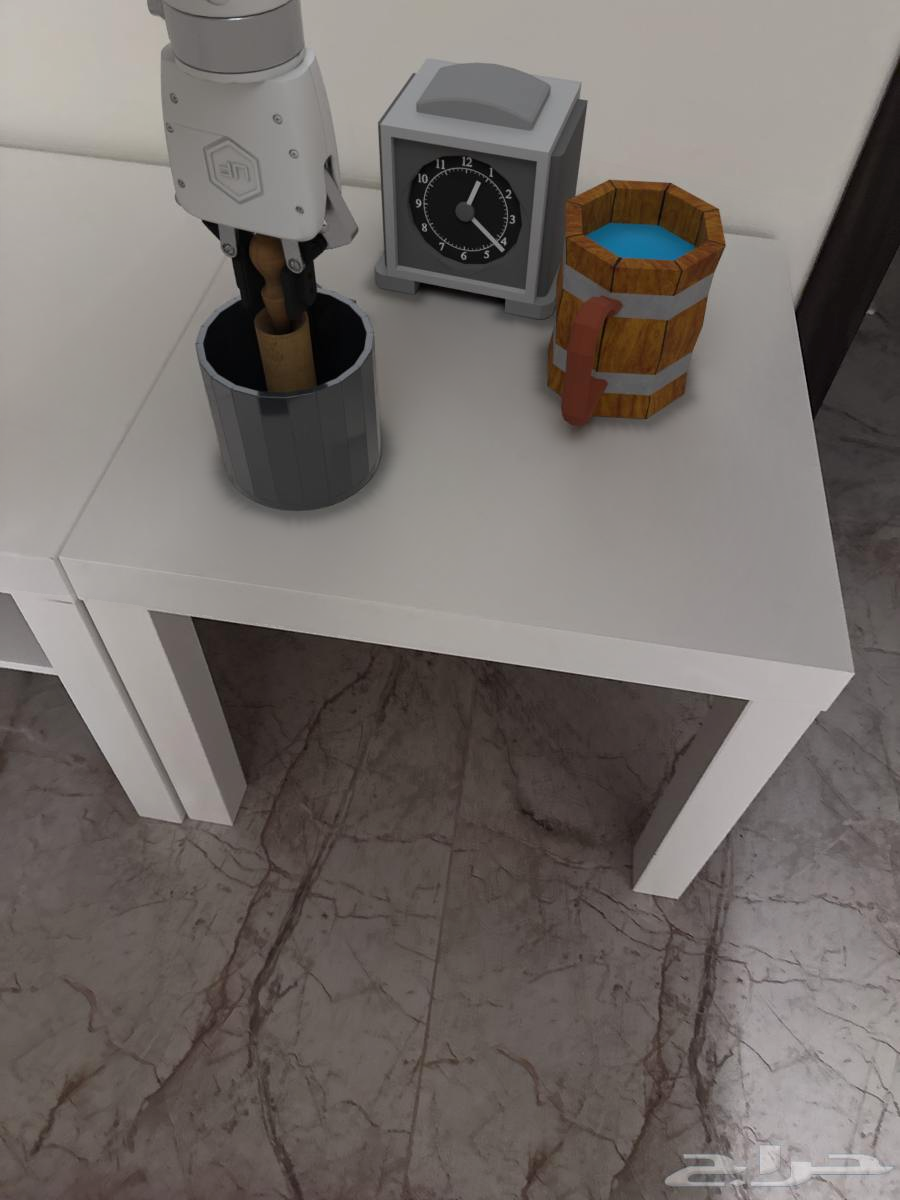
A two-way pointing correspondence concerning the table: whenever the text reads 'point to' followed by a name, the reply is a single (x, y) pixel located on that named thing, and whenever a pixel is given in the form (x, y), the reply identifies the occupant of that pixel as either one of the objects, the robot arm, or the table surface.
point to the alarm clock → (479, 182)
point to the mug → (630, 297)
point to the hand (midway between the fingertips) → (279, 301)
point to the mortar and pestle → (280, 324)
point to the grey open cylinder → (294, 406)
